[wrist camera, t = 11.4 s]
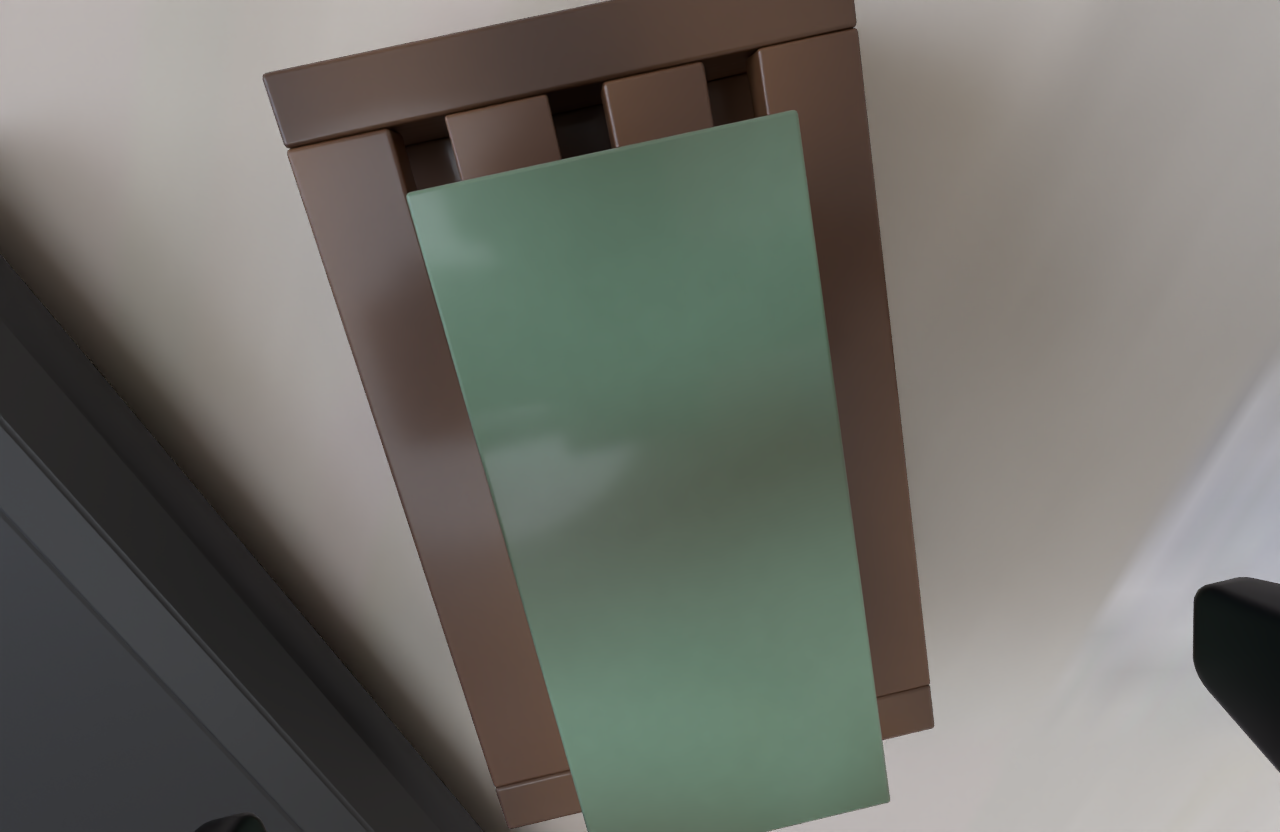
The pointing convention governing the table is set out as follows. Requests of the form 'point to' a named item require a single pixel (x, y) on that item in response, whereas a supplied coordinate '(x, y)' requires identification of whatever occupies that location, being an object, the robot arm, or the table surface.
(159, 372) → the table surface
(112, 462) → the dark leather journal
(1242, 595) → the robot arm
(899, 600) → the rack
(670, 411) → the green rectangular block
